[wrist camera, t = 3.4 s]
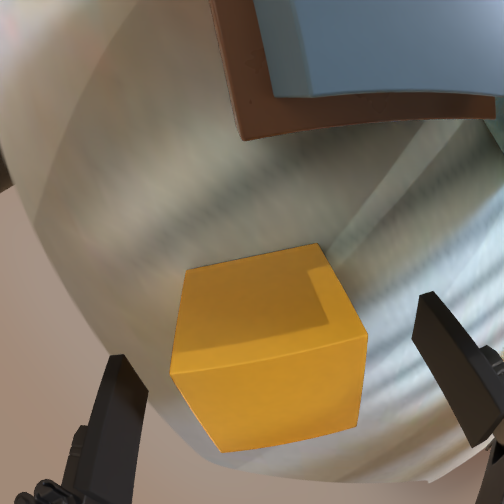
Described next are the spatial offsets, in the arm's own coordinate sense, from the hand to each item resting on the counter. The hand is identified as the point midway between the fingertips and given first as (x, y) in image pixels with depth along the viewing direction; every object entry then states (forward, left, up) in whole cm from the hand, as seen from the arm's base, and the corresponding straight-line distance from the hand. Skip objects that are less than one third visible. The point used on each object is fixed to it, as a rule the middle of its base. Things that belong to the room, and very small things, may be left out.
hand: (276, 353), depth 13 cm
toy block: (0, 0, -3) cm, 3 cm away
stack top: (+5, +13, +1) cm, 14 cm away
